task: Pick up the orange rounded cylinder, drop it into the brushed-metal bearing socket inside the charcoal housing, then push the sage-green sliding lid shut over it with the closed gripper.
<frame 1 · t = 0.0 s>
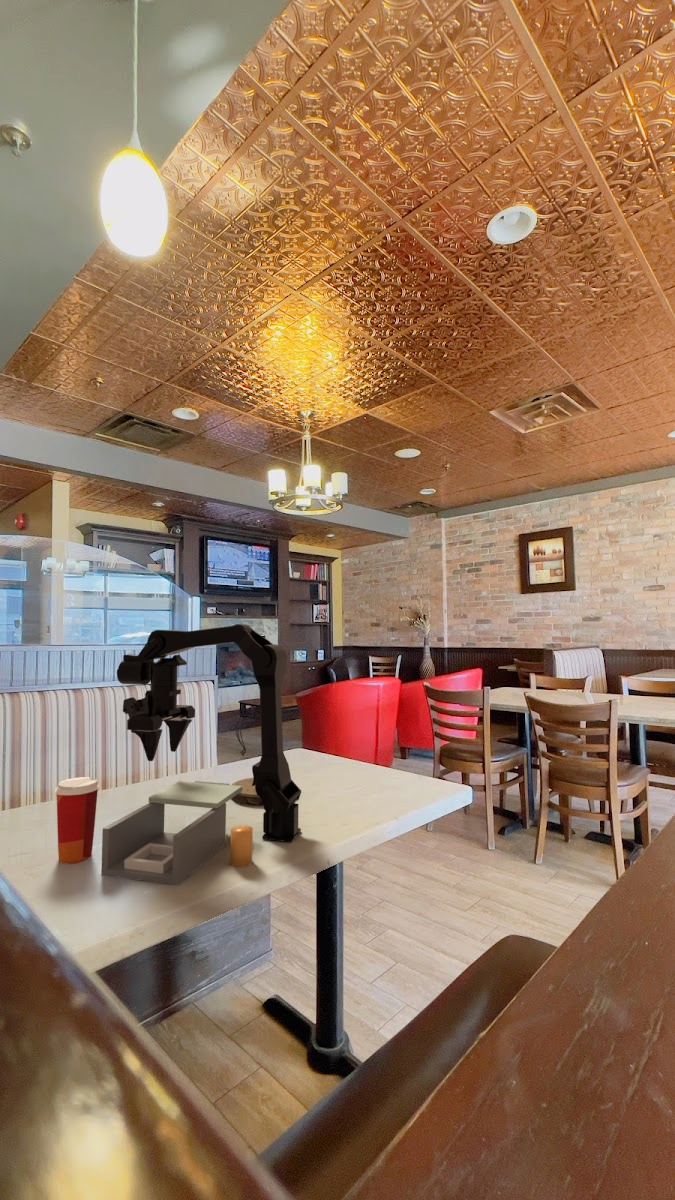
hand: (162, 756, 120), 15 cm above the table, fingers open, 9 cm apart
wood slice coaster: (261, 797, 139), on the table
paper cup: (74, 858, 101), on the table
orange rounded cylinder: (241, 862, 100), on the table
housing: (167, 858, 101), on the table
lid: (198, 798, 113), point 8 cm above the table, slide at 14.0 cm
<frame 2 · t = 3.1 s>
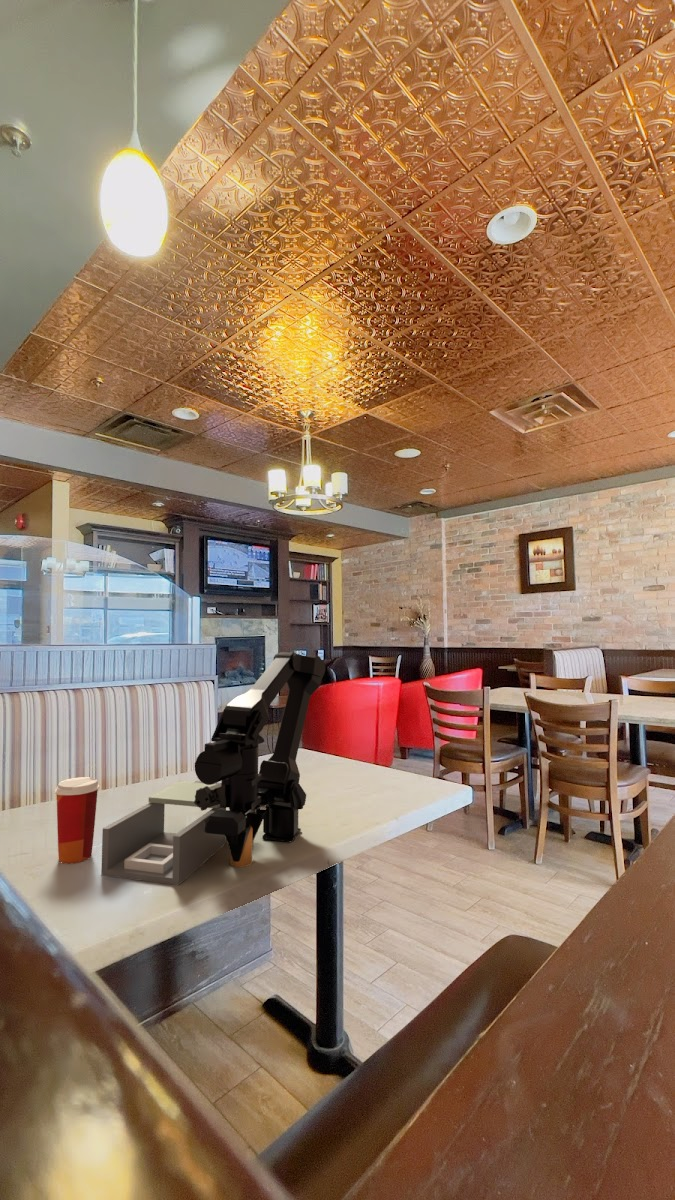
hand: (241, 856, 100), 1 cm above the table, fingers closed on orange rounded cylinder, 4 cm apart
orange rounded cylinder: (241, 862, 100), on the table, touching gripper
everything else where it was.
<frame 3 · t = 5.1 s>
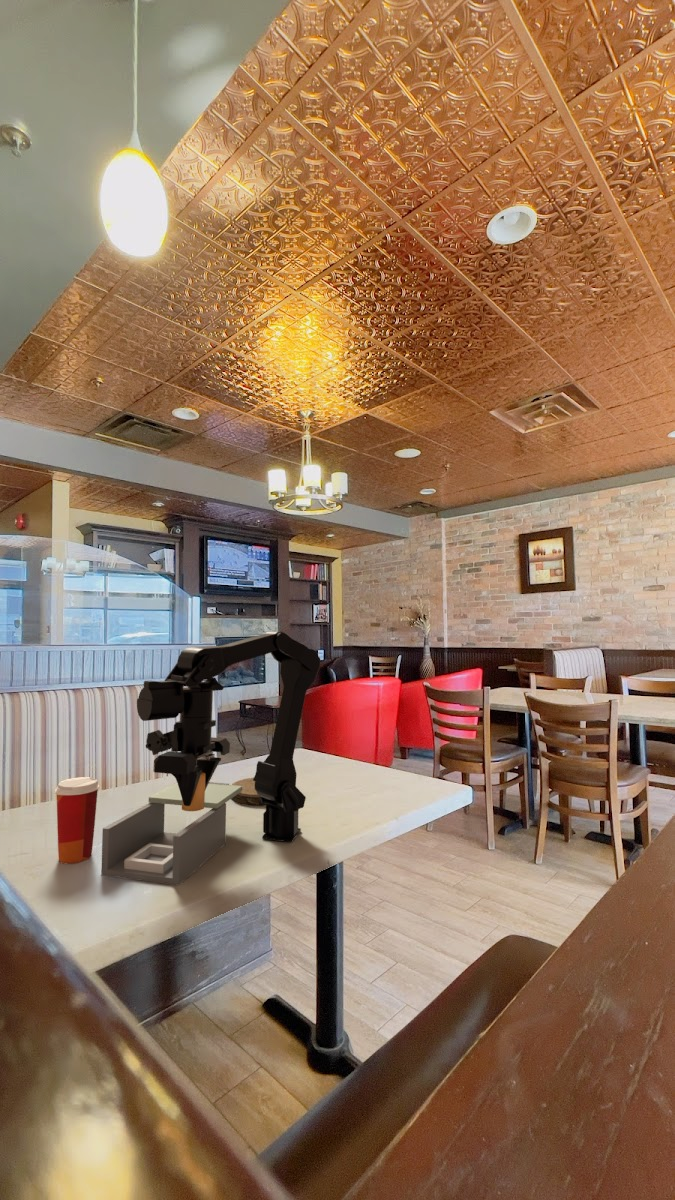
hand: (192, 802, 99), 11 cm above the table, fingers closed on orange rounded cylinder, 4 cm apart
orange rounded cylinder: (193, 807, 98), point 10 cm above the table, touching gripper
everything else where it was.
when the fingers open (4 cm above the table, at t = 7.1 s): orange rounded cylinder drops 2 cm, resting on housing.
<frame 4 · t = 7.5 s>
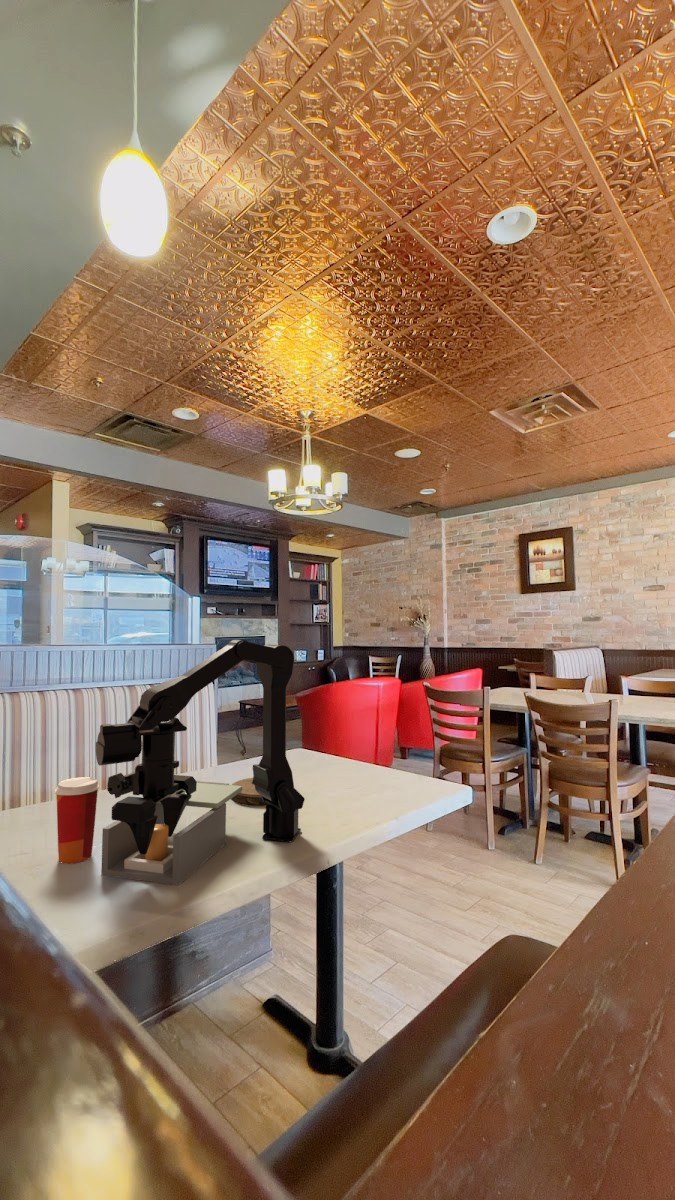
hand: (156, 844, 97), 4 cm above the table, fingers open, 8 cm apart
orange rounded cylinder: (156, 861, 97), point 1 cm above the table, touching housing
everything else where it was.
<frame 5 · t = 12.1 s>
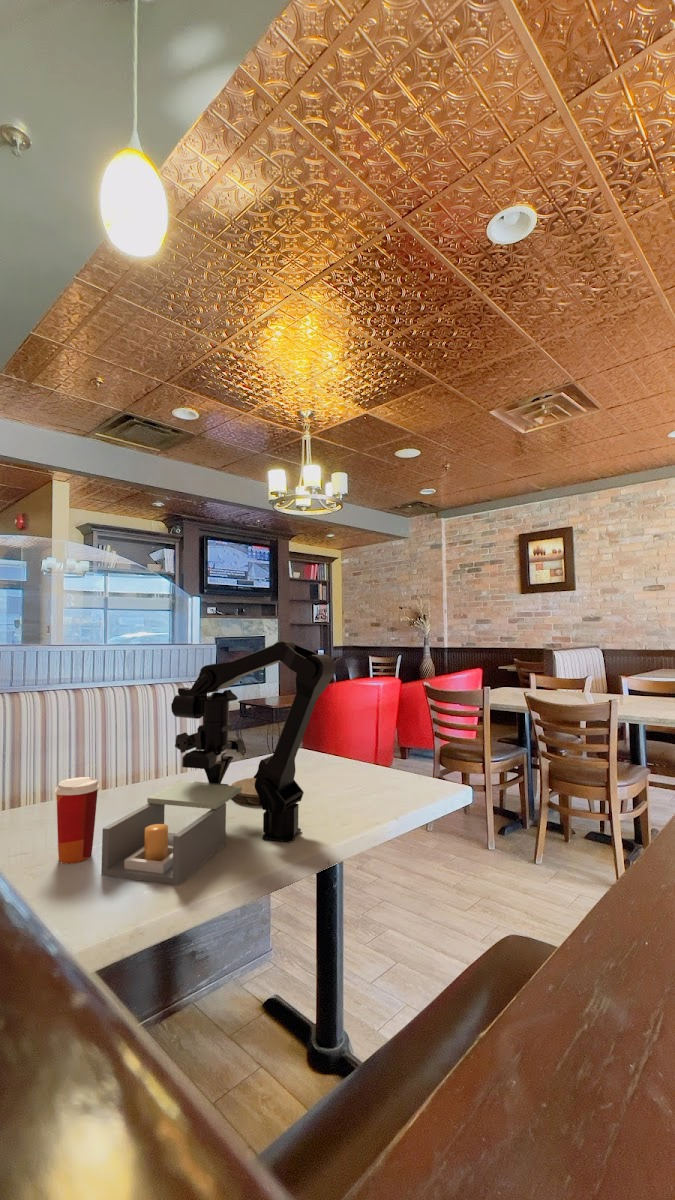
hand: (214, 791, 120), 7 cm above the table, fingers closed
lid: (197, 798, 112), point 8 cm above the table, slide at 13.6 cm, touching gripper
everything else where it was.
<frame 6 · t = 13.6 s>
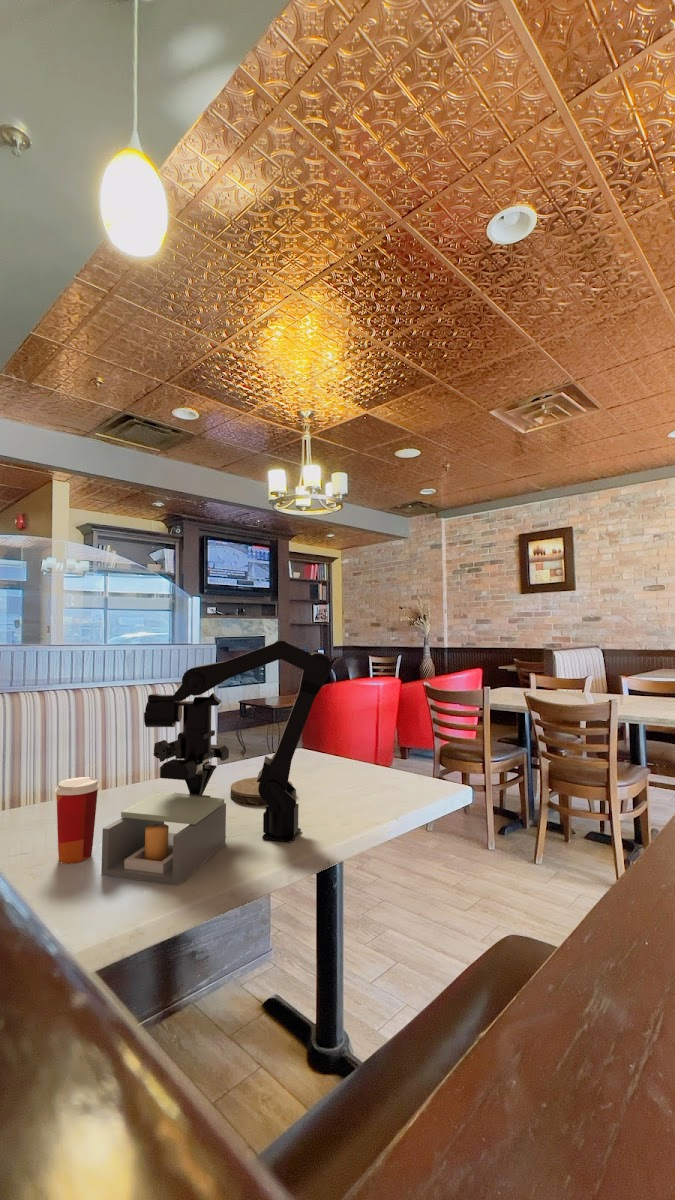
hand: (195, 802, 112), 7 cm above the table, fingers closed
lid: (175, 812, 104), point 8 cm above the table, slide at 5.1 cm, touching gripper
everything else where it was.
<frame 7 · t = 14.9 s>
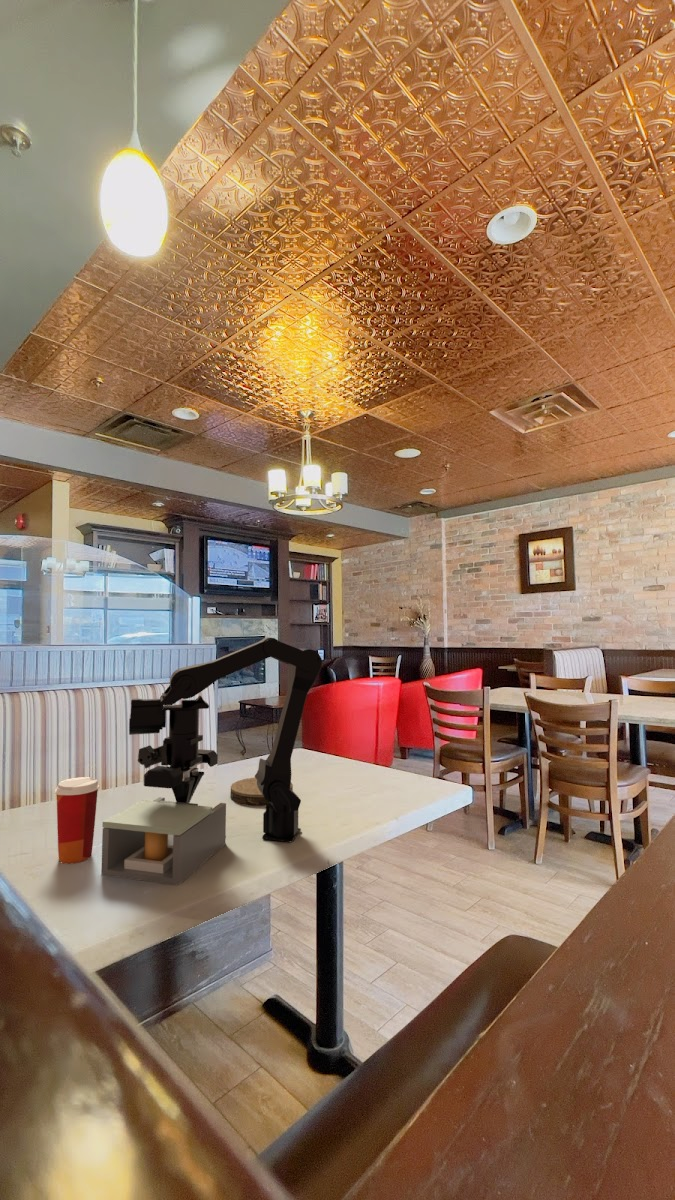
hand: (182, 811, 107), 7 cm above the table, fingers closed
lid: (160, 821, 99), point 8 cm above the table, slide at -0.1 cm, touching gripper
everything else where it was.
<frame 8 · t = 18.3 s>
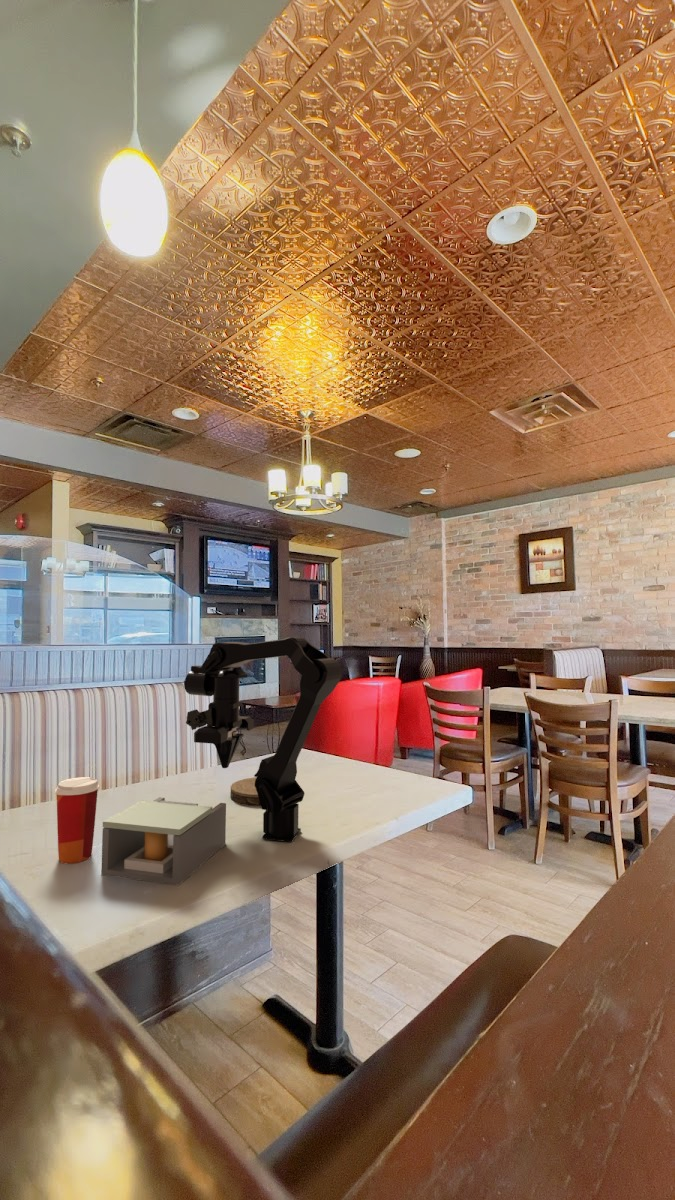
hand: (225, 767, 121), 12 cm above the table, fingers closed
lid: (161, 821, 99), point 8 cm above the table, slide at 0.0 cm
everything else where it was.
at the end: orange rounded cylinder 0.1 cm from the target spot on the housing, point 1.0 cm above the housing's base; orange rounded cylinder tilted 1°; lid slide at 0.0 cm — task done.
